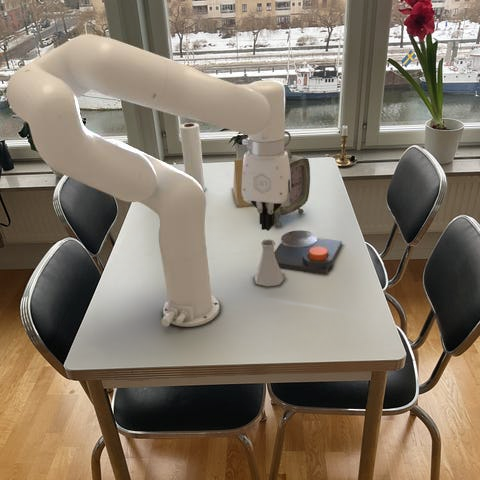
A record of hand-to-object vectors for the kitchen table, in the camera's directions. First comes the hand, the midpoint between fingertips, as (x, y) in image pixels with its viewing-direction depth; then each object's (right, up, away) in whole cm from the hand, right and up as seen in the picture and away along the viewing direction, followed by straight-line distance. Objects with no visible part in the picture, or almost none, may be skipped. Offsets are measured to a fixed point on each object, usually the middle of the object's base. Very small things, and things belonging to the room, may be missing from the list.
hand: (267, 227), depth 121 cm
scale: (+11, -4, +17) cm, 20 cm away
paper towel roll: (-21, +22, +58) cm, 65 cm away
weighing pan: (+9, 0, +18) cm, 20 cm away
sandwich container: (-4, +19, +51) cm, 55 cm away
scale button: (+13, -5, +10) cm, 18 cm away
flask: (+1, -11, +8) cm, 14 cm away
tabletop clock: (+6, +9, +36) cm, 38 cm away
